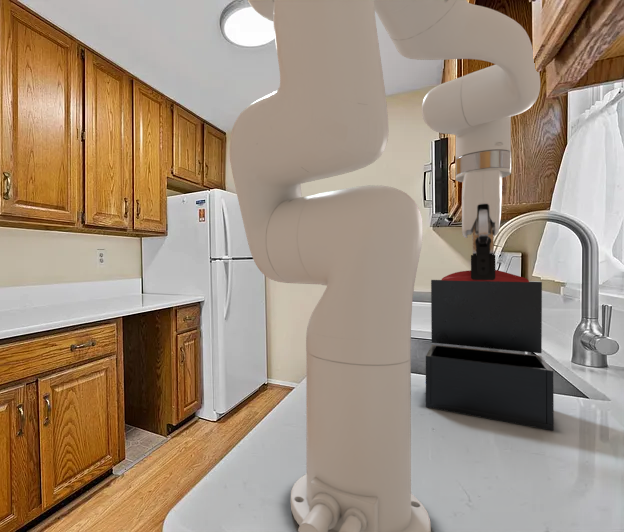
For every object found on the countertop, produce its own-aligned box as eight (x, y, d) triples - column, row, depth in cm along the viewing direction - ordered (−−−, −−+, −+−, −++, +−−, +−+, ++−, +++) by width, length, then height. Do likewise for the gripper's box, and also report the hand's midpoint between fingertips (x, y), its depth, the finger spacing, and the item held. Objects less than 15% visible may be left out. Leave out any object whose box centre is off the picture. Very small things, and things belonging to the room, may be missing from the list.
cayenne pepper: (532, 281, 58) (532, 269, 58) (525, 282, 55) (526, 269, 55) (447, 279, 67) (447, 269, 67) (438, 280, 64) (438, 269, 64)
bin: (553, 430, 54) (553, 370, 54) (425, 407, 64) (425, 356, 64) (541, 406, 64) (541, 355, 64) (431, 389, 73) (431, 344, 73)
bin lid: (542, 281, 63) (537, 279, 68) (431, 280, 73) (433, 277, 77) (541, 353, 64) (536, 346, 68) (431, 342, 73) (433, 336, 78)
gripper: (457, 181, 70) (457, 278, 70) (453, 160, 56) (453, 280, 56) (507, 175, 66) (507, 278, 66) (515, 151, 52) (516, 281, 52)
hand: (482, 278), depth 61 cm, fingers closed on cayenne pepper, 3 cm apart
